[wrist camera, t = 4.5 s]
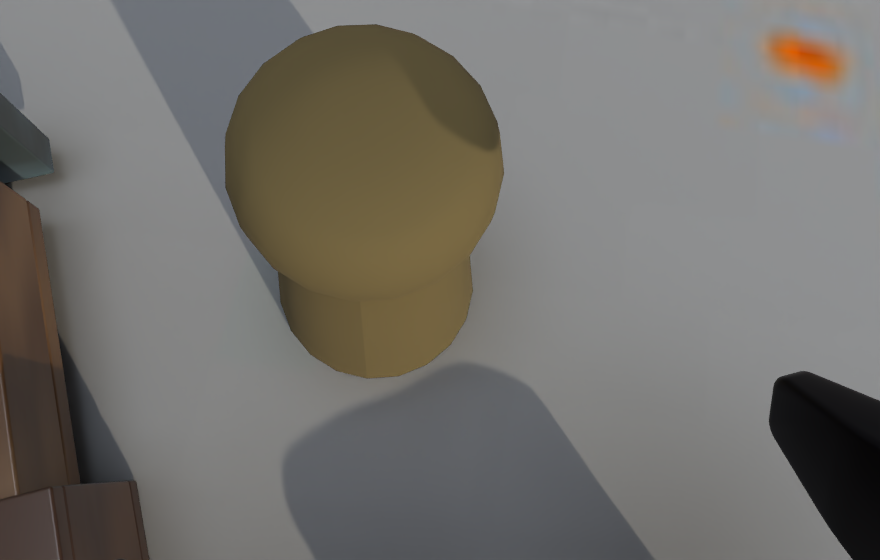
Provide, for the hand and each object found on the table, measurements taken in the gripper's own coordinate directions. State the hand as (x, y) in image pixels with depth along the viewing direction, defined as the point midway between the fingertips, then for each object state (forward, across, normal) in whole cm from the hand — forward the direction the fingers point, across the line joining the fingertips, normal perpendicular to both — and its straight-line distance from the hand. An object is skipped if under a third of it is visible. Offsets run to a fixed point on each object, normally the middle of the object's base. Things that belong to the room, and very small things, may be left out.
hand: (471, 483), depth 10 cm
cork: (+13, 0, +4) cm, 14 cm away
